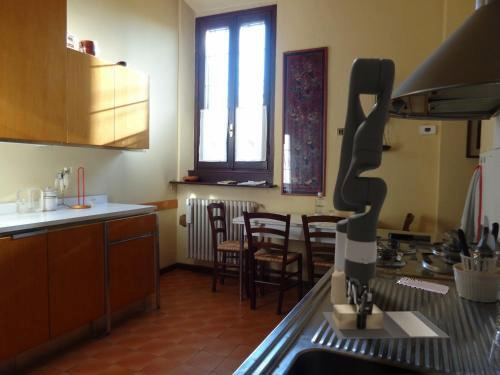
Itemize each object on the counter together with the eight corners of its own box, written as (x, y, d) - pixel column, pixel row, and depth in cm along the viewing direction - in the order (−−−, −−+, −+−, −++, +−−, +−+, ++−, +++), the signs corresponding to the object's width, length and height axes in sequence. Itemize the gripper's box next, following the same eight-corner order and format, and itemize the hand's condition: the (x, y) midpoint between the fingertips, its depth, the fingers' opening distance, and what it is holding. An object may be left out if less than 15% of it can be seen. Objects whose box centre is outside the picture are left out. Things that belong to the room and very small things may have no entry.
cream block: (338, 329, 86) (339, 313, 85) (332, 319, 90) (333, 304, 90) (382, 328, 86) (383, 313, 86) (373, 319, 91) (374, 304, 91)
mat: (322, 313, 95) (322, 311, 95) (418, 312, 97) (418, 310, 97) (338, 340, 81) (338, 338, 81) (450, 339, 83) (450, 337, 83)
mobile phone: (446, 292, 110) (396, 281, 119) (446, 295, 111) (396, 284, 119) (449, 285, 117) (401, 275, 125) (449, 288, 117) (401, 278, 125)
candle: (327, 303, 101) (328, 270, 101) (337, 298, 105) (338, 266, 104) (344, 309, 98) (345, 275, 97) (353, 304, 101) (355, 270, 101)
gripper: (336, 249, 94) (333, 310, 95) (356, 266, 79) (352, 337, 81) (363, 249, 94) (360, 310, 96) (388, 266, 80) (384, 337, 81)
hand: (356, 322), depth 88 cm, fingers closed on cream block, 5 cm apart
